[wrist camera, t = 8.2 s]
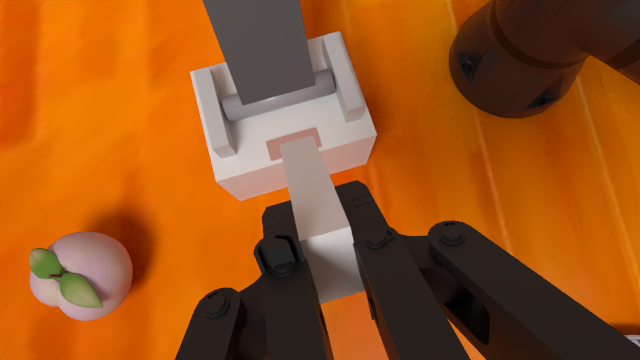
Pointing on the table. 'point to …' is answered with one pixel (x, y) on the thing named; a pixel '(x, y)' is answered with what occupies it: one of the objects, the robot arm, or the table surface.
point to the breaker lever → (265, 56)
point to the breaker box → (285, 125)
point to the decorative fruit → (82, 274)
